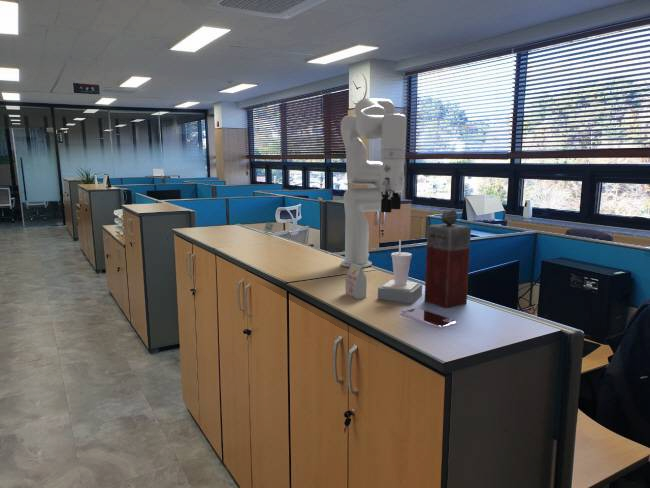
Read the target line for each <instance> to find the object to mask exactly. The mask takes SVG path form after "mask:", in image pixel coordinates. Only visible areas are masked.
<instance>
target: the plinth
mask: <svg viewBox="0 0 650 488" xmlns="http://www.w3.org/2000/svg"><path fill="white" fill-rule="evenodd" d="M422 295H423V284H422V283H419V282H413V281H407V285H404V286H399V285H395V283H394V279H390V280H387V281H386V282H385V283H383V284H382V285H380V286H379V287H378V288H377V300H383V301H391V302H396V303H405V304H412V305H413V304H414V303H415V302H416V301H417V300H418V299H419V298H421V296H422Z"/></svg>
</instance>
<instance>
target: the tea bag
mask: <svg viewBox="0 0 650 488" xmlns="http://www.w3.org/2000/svg"><path fill="white" fill-rule="evenodd" d="M345 295H347V296H349V297H351V298H353V299H355V300H358V299H359V300H360V299H366V298H367V278H366V275H365V273H364V270H363V268H362V267H361V266H358V265H356V264H353V263H350V267H348V270H347V273H346V275H345Z"/></svg>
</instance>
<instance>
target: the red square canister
mask: <svg viewBox="0 0 650 488" xmlns="http://www.w3.org/2000/svg"><path fill="white" fill-rule="evenodd" d="M441 220H442V222H443V223H438V224H430V225H428V226H427V234H426V235H427V236H426V258H425V259H426V261H425V280H424V281H425V282H424V302H426V303H430V304H432V305H435V306H437V307H441V308H444V309H449V308H453V307H454V308H455V307H457V306H462V305H466V304H467V300H468V287H469V286H468V284H469V270H470V269H469V268H470V267H469V265H470V250H471V249H470V248H471V234H472V233H471V232H472V230H471V229H472V228H471V227H470V226H468V225H464V224H463V225H462V224H456V222H457V220H458V214H457V212H456V210H454V209H445V210H444V211H443V212H442V214H441Z"/></svg>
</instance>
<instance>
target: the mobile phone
mask: <svg viewBox="0 0 650 488" xmlns="http://www.w3.org/2000/svg"><path fill="white" fill-rule="evenodd" d="M399 315H402V316H404V317H406V318H409V319H413V320H414V321H418V322H421V323H423V324H426V325H429V326H432V327H435V328H438V329H445V328H448V327H451V326H455V325H457V324H458V323H459V322H458V321H457V320H455V319H453V318H449V317H446V316H443V315H440V314H438V313H434V312H431V311H428V310H425V309H422V308H419V307H415V308H410V309H407V310H404V311H400V313H399Z"/></svg>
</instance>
